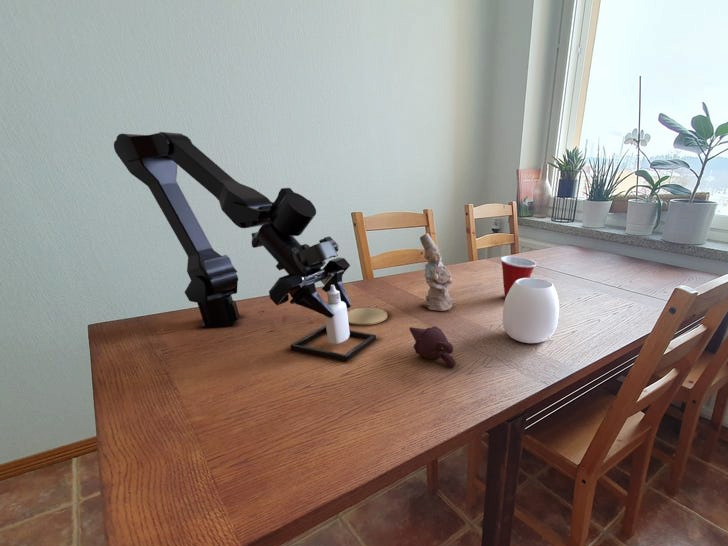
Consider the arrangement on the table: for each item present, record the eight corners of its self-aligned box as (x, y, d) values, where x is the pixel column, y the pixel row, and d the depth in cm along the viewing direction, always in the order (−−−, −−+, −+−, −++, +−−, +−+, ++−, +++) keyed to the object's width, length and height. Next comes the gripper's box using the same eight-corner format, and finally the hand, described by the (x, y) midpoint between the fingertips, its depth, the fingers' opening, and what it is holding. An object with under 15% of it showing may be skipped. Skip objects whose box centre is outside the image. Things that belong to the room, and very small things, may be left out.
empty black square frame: (291, 350, 79) (290, 345, 78) (325, 330, 88) (325, 325, 88) (346, 361, 75) (345, 356, 75) (376, 339, 85) (375, 334, 85)
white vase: (565, 337, 92) (574, 284, 85) (533, 354, 83) (541, 296, 76) (522, 321, 99) (528, 271, 93) (489, 335, 90) (493, 281, 84)
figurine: (416, 304, 106) (414, 231, 97) (441, 299, 111) (441, 229, 102) (434, 314, 100) (434, 238, 91) (459, 308, 105) (461, 235, 96)
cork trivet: (343, 326, 90) (343, 325, 90) (343, 310, 99) (342, 308, 99) (389, 323, 94) (389, 321, 93) (385, 308, 103) (385, 306, 102)
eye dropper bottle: (322, 339, 80) (313, 285, 74) (345, 332, 84) (339, 280, 78) (333, 346, 78) (325, 290, 72) (356, 338, 82) (351, 285, 76)
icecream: (392, 322, 78) (436, 354, 70) (420, 307, 82) (465, 336, 73) (399, 348, 83) (441, 380, 74) (426, 332, 86) (468, 362, 78)
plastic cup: (534, 305, 111) (539, 265, 105) (497, 303, 111) (501, 263, 105) (530, 293, 121) (534, 256, 115) (497, 291, 120) (499, 254, 115)
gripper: (268, 231, 63) (333, 304, 65) (337, 218, 78) (387, 277, 81) (242, 271, 68) (303, 336, 71) (311, 251, 84) (358, 305, 87)
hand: (341, 311), depth 77 cm, fingers closed on eye dropper bottle, 5 cm apart
